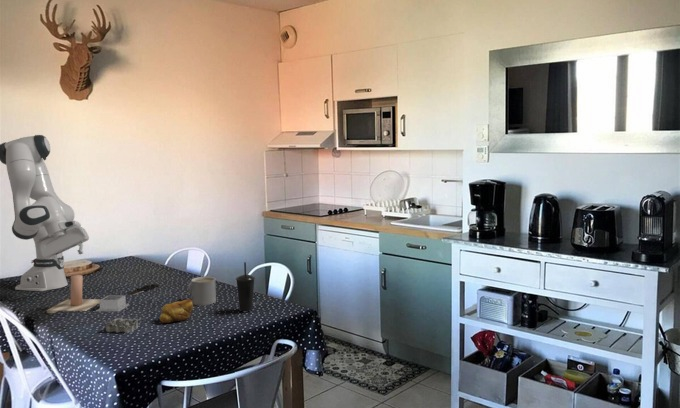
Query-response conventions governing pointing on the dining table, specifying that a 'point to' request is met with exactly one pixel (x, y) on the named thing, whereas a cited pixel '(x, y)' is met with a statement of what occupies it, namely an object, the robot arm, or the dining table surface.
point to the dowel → (76, 290)
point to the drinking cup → (245, 290)
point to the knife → (143, 289)
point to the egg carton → (122, 325)
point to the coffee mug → (203, 290)
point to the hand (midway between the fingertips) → (70, 258)
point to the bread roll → (176, 311)
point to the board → (68, 307)
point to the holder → (113, 303)
